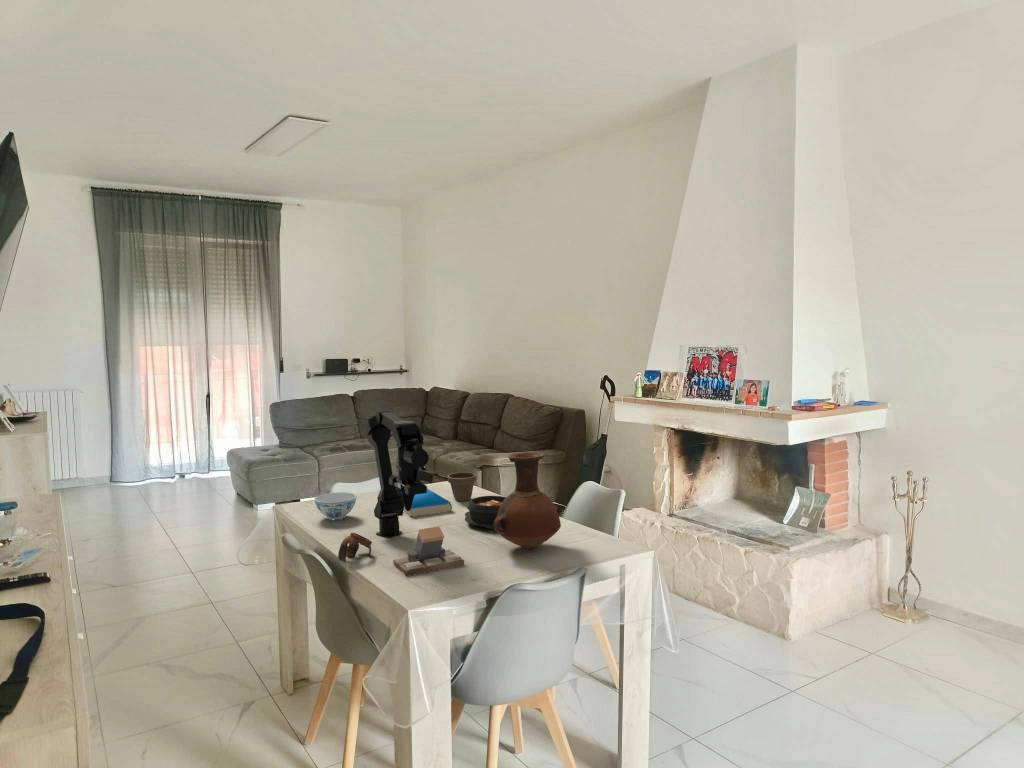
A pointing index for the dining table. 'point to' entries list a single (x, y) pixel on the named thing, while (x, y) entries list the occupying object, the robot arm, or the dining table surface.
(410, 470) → the robot arm
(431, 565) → the brown rectangular slab
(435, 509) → the book
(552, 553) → the dining table surface
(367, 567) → the dining table surface
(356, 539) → the brown curved piece
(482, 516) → the casserole
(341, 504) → the chinaware
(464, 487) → the flower pot
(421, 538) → the grey block
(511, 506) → the vase
